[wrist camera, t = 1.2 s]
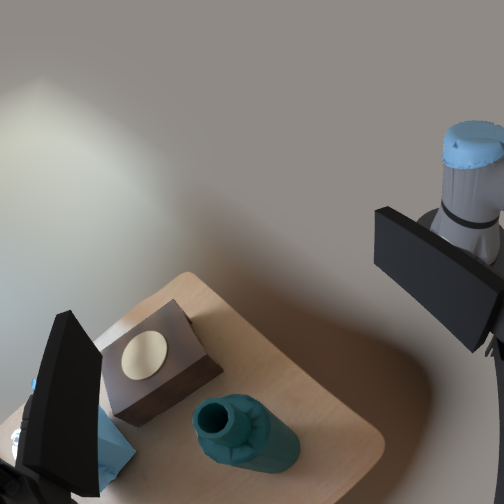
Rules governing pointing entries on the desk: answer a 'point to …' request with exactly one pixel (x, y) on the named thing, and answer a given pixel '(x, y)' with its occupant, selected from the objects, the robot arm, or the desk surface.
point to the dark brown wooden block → (155, 366)
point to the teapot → (109, 448)
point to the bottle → (244, 434)
